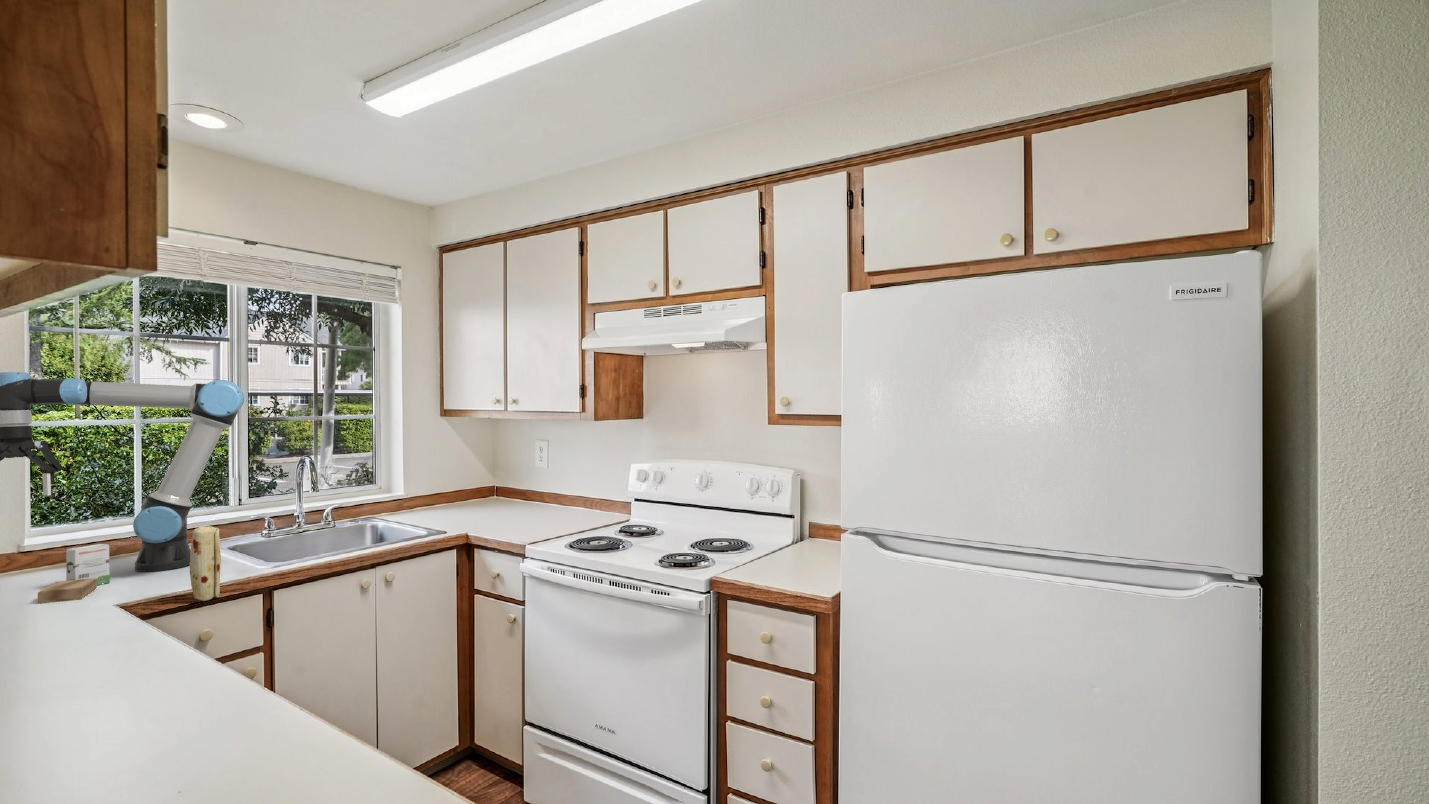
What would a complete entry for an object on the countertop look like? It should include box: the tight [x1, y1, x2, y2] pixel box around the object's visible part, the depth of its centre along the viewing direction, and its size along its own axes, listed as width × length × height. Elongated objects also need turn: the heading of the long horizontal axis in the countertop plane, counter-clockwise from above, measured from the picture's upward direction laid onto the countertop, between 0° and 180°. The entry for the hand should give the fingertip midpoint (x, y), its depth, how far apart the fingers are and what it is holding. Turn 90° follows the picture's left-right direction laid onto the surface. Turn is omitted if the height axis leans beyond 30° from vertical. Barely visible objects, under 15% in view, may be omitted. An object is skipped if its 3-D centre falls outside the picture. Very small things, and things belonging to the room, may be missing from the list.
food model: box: [189, 525, 222, 603], centre depth 186 cm, size 10×7×20 cm
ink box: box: [65, 543, 111, 586], centre depth 201 cm, size 9×5×12 cm, turn 158°
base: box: [37, 578, 98, 605], centre depth 190 cm, size 9×12×3 cm
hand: (16, 498), depth 197 cm, fingers open, 13 cm apart
